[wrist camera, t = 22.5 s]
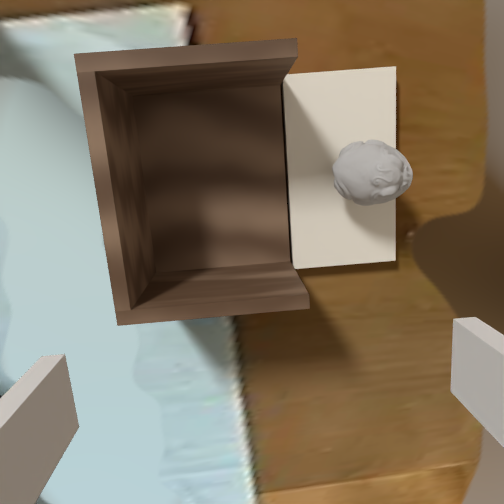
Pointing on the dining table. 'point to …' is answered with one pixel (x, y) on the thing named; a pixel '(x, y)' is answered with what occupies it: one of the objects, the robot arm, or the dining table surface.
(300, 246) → the panel
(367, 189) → the white sculpted head
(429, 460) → the dining table surface
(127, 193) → the crate
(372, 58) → the dining table surface
